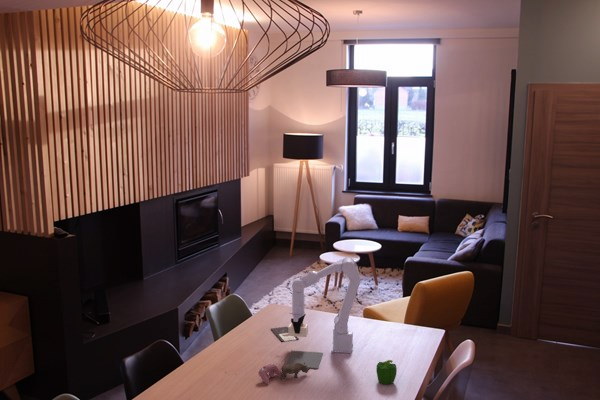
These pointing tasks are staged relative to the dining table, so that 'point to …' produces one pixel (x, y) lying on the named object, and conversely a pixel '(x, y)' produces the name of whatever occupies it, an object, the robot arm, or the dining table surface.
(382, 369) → the bell pepper
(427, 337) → the dining table surface
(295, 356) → the charcoal mat
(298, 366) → the rhino figurine
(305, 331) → the card deck
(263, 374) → the pink gorilla figurine
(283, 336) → the chocolate bar
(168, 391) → the dining table surface
